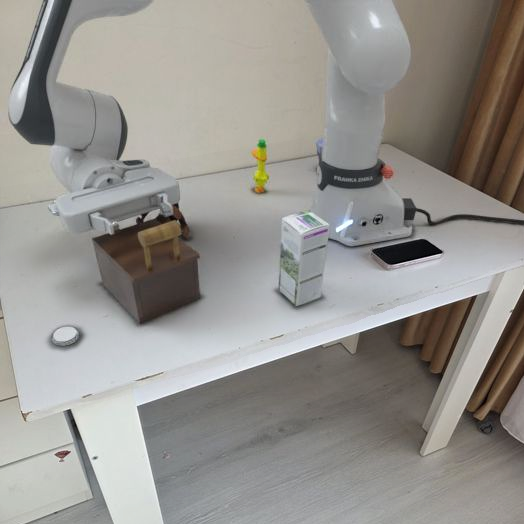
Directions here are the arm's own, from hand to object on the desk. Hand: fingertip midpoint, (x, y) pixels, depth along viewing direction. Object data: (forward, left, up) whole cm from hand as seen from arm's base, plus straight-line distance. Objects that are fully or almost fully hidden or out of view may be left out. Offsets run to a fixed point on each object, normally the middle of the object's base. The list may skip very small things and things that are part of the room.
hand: (142, 220), depth 76 cm
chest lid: (0, -1, -6) cm, 6 cm away
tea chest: (+1, -1, -14) cm, 14 cm away
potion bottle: (-44, -49, -14) cm, 68 cm away
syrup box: (-25, +3, -14) cm, 29 cm away
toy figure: (-24, -39, -14) cm, 48 cm away
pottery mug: (-2, -21, -14) cm, 25 cm away
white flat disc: (+14, +10, -14) cm, 22 cm away
